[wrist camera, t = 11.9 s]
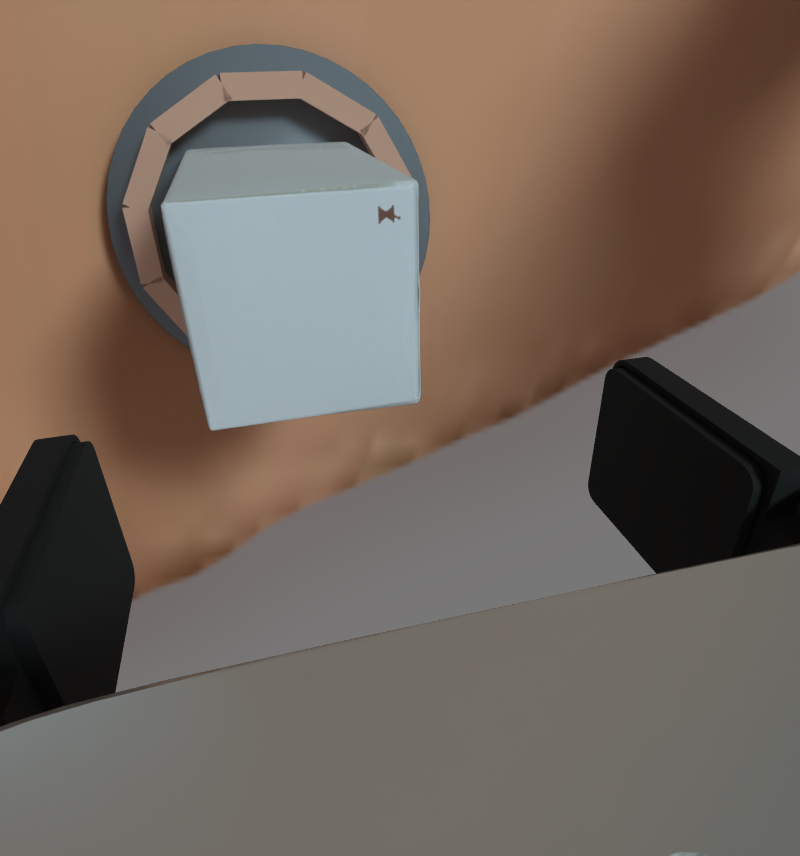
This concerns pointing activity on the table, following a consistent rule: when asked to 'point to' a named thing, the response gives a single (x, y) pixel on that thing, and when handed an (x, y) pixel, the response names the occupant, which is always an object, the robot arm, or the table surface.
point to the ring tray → (236, 145)
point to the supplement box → (296, 280)
